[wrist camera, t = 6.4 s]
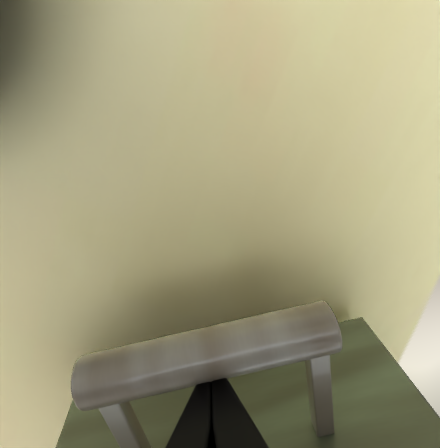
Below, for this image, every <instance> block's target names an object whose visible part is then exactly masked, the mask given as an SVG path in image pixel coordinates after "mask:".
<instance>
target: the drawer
mask: <svg viewBox="0 0 440 448" xmlns="http://www.w3.org/2000/svg"><path fill="white" fill-rule="evenodd" d="M223 378H227V379H228V381H229V382H230V384H231V386H232V387H233V389H234V391H235V392H236V394H237V395H238V397H239V399H240V400H241V402H242V404H243V405H244V407H245V409H246V410H247V412H248V414H249V415H250V417H251V419H252V420H253V422H254V424H255V425H256V427H257V428H258V430H259V432H260V433H261V435H262V437H263V438H264V440H265V442H266V443H267V445H268V447H269V448H440V418H439V416H438V415H437V413H436V412H435V411H434V410H433V408H432V407H431V406H430V404H429V403H428V402H427V401H426V399H425V398H424V397H423V395H422V394H421V393H420V391H419V390H418V389H417V388H416V386H415V385H414V384H413V382H412V381H411V380H410V379H409V377H408V376H407V375H406V373H405V372H404V371H403V370H402V368H401V367H400V366H399V364H398V363H397V362H396V361H395V359H394V358H393V357H392V355H391V354H390V353H389V352H388V350H387V349H386V348H385V346H384V345H383V344H382V343H381V341H380V340H379V339H378V337H377V336H376V335H375V334H374V332H373V331H372V330H371V328H370V327H369V326H368V324H367V323H366V322H365V321H364V319H363V318H357V319H352V320H348V321H344V322H339V323H338V321H337V319H336V317H335V314H334V312H333V311H332V309H331V307H330V306H329V305H328V303H326V302H325V301H317V302H313V303H308V304H304V305H300V306H295V307H291V308H287V309H282V310H278V311H273V312H269V313H265V314H260V315H256V316H252V317H247V318H243V319H238V320H234V321H230V322H225V323H221V324H217V325H212V326H208V327H203V328H199V329H195V330H190V331H186V332H182V333H177V334H173V335H168V336H164V337H160V338H155V339H151V340H147V341H142V342H138V343H133V344H129V345H125V346H120V347H116V348H112V349H107V350H103V351H98V352H94V353H90V354H85V355H83V356H81V357H80V358H78V360H77V361H76V363H75V365H74V367H73V371H72V377H71V391H72V397H73V401H72V404H71V407H70V409H69V412H68V415H67V418H66V420H65V423H64V426H63V429H62V432H61V434H60V437H59V440H58V443H57V445H56V448H165V447H166V445H167V443H168V441H169V439H170V437H171V435H172V433H173V431H174V429H175V427H176V425H177V423H178V421H179V419H180V417H181V415H182V413H183V410H184V408H185V406H186V404H187V402H188V400H189V398H190V396H191V394H192V392H193V390H194V388H195V386H196V385H197V384H201V383H205V382H212V381H214V380H219V379H223Z"/></svg>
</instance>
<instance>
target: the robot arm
mask: <svg viewBox="0 0 440 448" xmlns="http://www.w3.org/2000/svg"><path fill="white" fill-rule="evenodd" d="M165 448H269V447H268V445H267V443H266V442H265V440H264V438H263V437H262V435H261V433H260V432H259V430H258V428H257V427H256V425H255V424H254V422H253V420H252V419H251V417H250V415H249V414H248V412H247V410H246V409H245V407H244V405H243V404H242V402H241V400H240V399H239V397H238V395H237V394H236V392H235V391H234V389H233V387H232V386H231V384H230V382H229V381H228V379H227V378H223V379H219V380H214V381H212V382H205V383H201V384H197V385H196V386H195V388H194V390H193V392H192V394H191V396H190V398H189V400H188V402H187V404H186V406H185V408H184V410H183V413H182V415H181V417H180V419H179V421H178V423H177V425H176V427H175V429H174V431H173V433H172V435H171V437H170V439H169V441H168V443H167V445H166V447H165Z"/></svg>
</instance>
